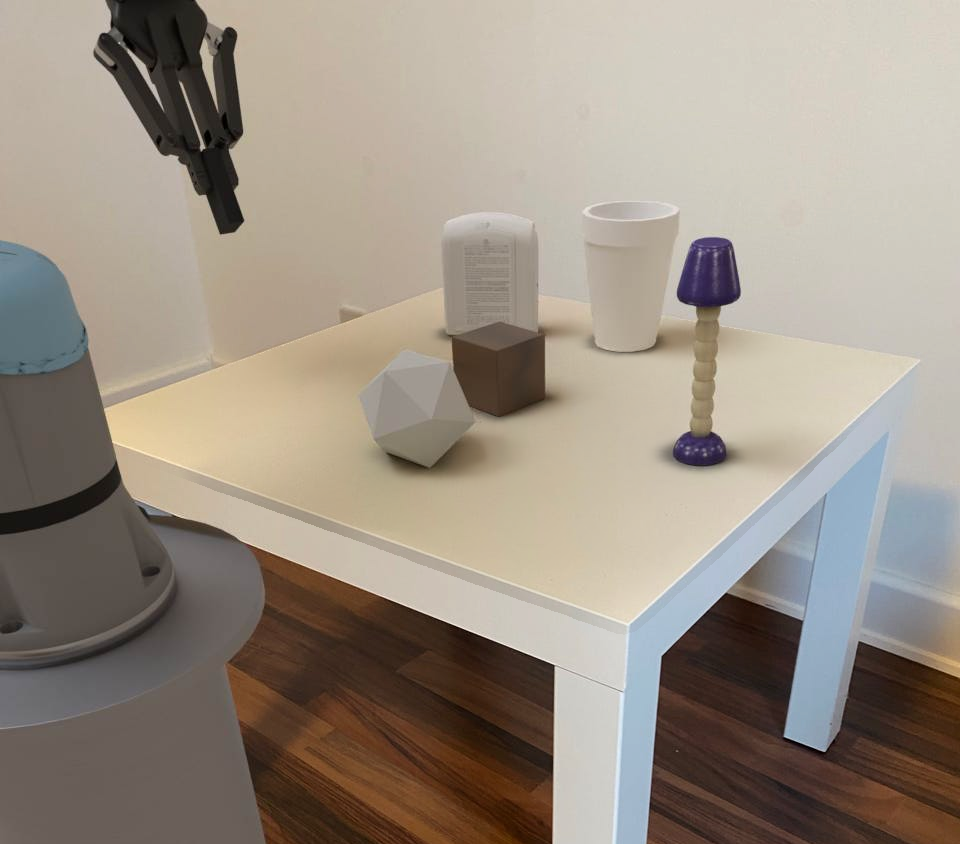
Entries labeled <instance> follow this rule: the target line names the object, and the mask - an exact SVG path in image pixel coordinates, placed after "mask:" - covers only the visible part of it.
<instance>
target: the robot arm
mask: <svg viewBox="0 0 960 844" xmlns="http://www.w3.org/2000/svg"><path fill="white" fill-rule="evenodd" d="M104 1H105V3H106V6H107V8H108V10H109V11H110V22H109V27H110V29H109V30H108V31H107V32H101V33H99V35H98V38H97V40H96V43H95V46H94V48H93V52H92V54H93V57H94V58H95V60H96V61H97V62H98V63H99V64H100V65H101V66H102V67H103V68H105V70H107V71H108V73H110V74H111V75H112V77H113V78H114V80H115V82H116V83H117V85H118V87H119V88H120V90H121V91H122V93H123V95H124V97H125V98H126V99H127V101H128V103H129V105H130V106H131V108H132V110H133V111H134V113H135V115H136V117H137V118H138V120H139V121H140V123H141V124H142V126H143V128H144V129H145V131H146V133H147V135H148V136H149V138H150V140H151V141H152V143H153V144H154V146H155V148H156V149H157V151H158V152H159V154H160V155H161V156H163V157H169V156H174V157H177V161H178V163H180V164H181V165H183V166H185V167H186V169H187V172H188V175H189V178H190V181H191V183H192V186H193V189H194V191H195V193H196V194H197V195H198V196H199V197H200V196H205V197H206V199H207V202H208V205H209V208H210V212H211V213H212V216H213V219H214V222H215V226H216V227H217V231H218V234H219V235H220V236H222V235H227V234H234V233H236V232H237V231H238V229H239V228H240V227H241V226H242V225H243V224H244V223H245V219H244V215H243V213H242V209H241V207H240V203H239V201H238V198H237V195H236V193H235V190H236V188H237V187H238V186H239V184H240V183H239V175H238V172H237V170H236V168H235V164H234V162H233V159H232V156H231V153H230V150H233V149H234V148H235V147H236V145H237V144H238V143H239V141H240V140H241V138H242V137H243V135H244V124H243V116H242V110H241V102H240V93H239V86H238V79H237V71H236V63H235V55H234V53H235V48H236V45H237V40H238V33H237V31H236V29H235V28H234V27H232V26H226V27H224V29H221V28H220V27H218V26H216V25H215V24H212V23H211V22H209V20H208V17H207V15H206V13H205V10H203V9H202V8H201V6H200V5H199V3H198V2H197V0H104ZM204 40H205V41H206V43H207V50H208V55H210V56H211V57H212V74H213V83H214V89H215V97H216V103H215V100H214V97H213V94H212V91H211V88H210V85H209V82H208V79H207V77H206V74H205V72H204V68H203V66H204V65H203V64H204V63H203V58H202V56H201V55H202V54H201V49H202V45H203V42H204ZM129 51H130V53H132V54H133V56H135V57H136V58H137V59H138V60H139V61H141V63H143V64H144V65H145V68H146V72H147V74H148V77H149V80H150V82H151V84H152V85H154V87H155V89H156V93H157V96H158V98H159V101H158V99H157V97H156V96H155V94H154V92H153V91H152V89H151V87H150V85H149V84H148V82H147V80H146V79H145V77H144V76H143V74H142V72H141V70H140V69H139V67H138V65H137V64H136V62H135V60H134V59H133V57H132V56H131V55H130V53H129ZM181 84H182V86H183V89H182V86H181ZM183 90H184V92H185V95H186V97H185V95H184V92H183ZM186 98H187V99H186ZM187 101H188V103H187ZM188 104H189V106H190V109H189V106H188ZM190 111H191V112H192V114H191V112H190ZM192 115H193V116H192ZM193 117H194V120H195V122H194V120H193ZM194 123H196V126H197V129H196V126H195V124H194ZM197 130H198V131H197ZM198 132H199V134H200V137H201V140H202V143H203V146H204V148H202V149H201V145H202V144H201V140H200V137H199V134H198ZM89 341H90V340H89V335H88V330H87V328H86V325H85V324H84V321H83V320H82V318H81V316H80V314H79V311H78V308H77V306H76V303H75V300H74V297H73V294H72V291H71V288H70V285H69V282H68V280H67V278H66V276H65V274H64V273H63V271H61V270H60V268H59V267H58V266H57V264H56V263H54V262H53V261H52V260H51V259H50V258H49V257H48V256H47V255H45V254H43V253H41V252H39V251H37V250H36V249H33V248H31V247H28V246H26V245H23V244H19V243H15V242H11V241H7V240H2V239H0V669H12V670H18V669H36V668H45V667H51V666H57V665H62V664H67V663H71V662H75V661H79V660H82V659H86V658H89V657H92V656H95V655H98V654H101V653H103V652H106V651H108V650H111V649H113V648H115V647H117V646H119V645H122V644H123V643H125V642H127V641H129V640H131V639H133V638H134V637H136V636H138V635H139V634H141V633H143V632H144V631H145V630H147V629H148V628H150V627H151V626H152V625H153V624H154V623H156V622H157V621H158V620H159V619H160V618H161V617H162V616H163V615H164V614H165V613H166V611H167V610H168V609H169V608H170V606H171V604H172V603H173V601H174V599H175V596H176V593H177V580H176V575H175V571H174V567H173V564H172V561H171V559H170V557H169V554H168V552H167V550H166V548H165V546H164V545H163V543H162V542H161V540H160V539H159V537H158V536H157V534H156V533H155V531H154V530H153V528H152V527H151V525H150V524H149V522H148V521H147V519H148V520H150V521H152V519H151V518H150V516H149V515H150V514H149V513H148V512H147V510H146V508H144V507H143V506H141V505H138V504H137V503H136V501H135V500H134V498H133V497H132V495H131V494H130V493H129V490H128V489H127V488H126V486H125V484H124V481H123V477H122V474H121V471H120V467H119V463H118V458H117V454H116V451H115V450H116V449H115V447H114V443H113V439H112V435H111V431H110V428H109V423H108V420H107V415H106V412H105V408H104V404H103V400H102V396H101V392H100V389H99V384H98V381H97V376H96V373H95V372H96V371H95V368H94V365H93V361H92V357H91V354H90V350H89ZM148 514H149V515H148ZM152 522H153V521H152Z"/></svg>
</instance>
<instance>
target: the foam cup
mask: <svg viewBox="0 0 960 844" xmlns="http://www.w3.org/2000/svg"><path fill="white" fill-rule="evenodd" d="M680 211H681V210H680V208H679V207H677V206H676V205H675V204H671V203H667V202H662V201H655V200H641V199H640V200H615V201H614V200H613V201H607V202H600V203H596V204H592V205H589V206H586V207H585V208H583V210H581V233H580V235H581V238H582V239H583V247H584V253H585V263H586V264H585V265H586V273H587V283H588V291H589V292H588V293H589V301H590V310H591V319H592V321H591V322H592V330H593V337H594V343H595V346H597V347H598V348H600V349H603V350H606V351H611V352H618V353H633V352H640V351H645V350H648V349H650V348H652V347H654V345H655V344H656V342H657V337H658V333H659V328H660V324H661V323H660V322H661V319H662V318H661V317H662V312H663V307H664V302H665V295H666V290H667V285H668V280H669V275H670V269H671V264H672V258H673V254H674V253H673V252H674V249H675V244H676V239H677V237H678V236H679V227H680Z"/></svg>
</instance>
